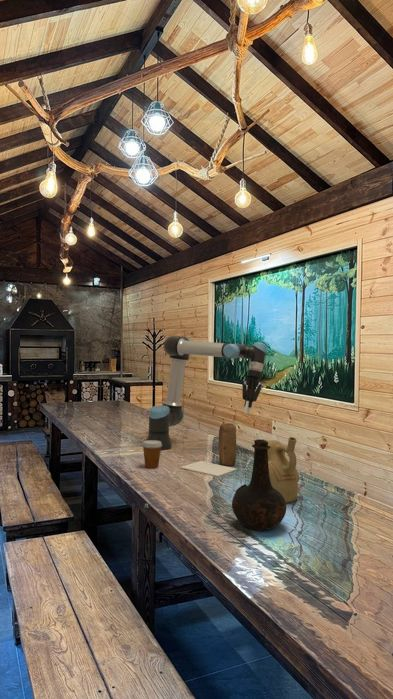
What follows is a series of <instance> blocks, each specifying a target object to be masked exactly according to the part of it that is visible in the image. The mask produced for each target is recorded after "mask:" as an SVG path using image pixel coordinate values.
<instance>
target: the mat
mask: <svg viewBox="0 0 393 699" xmlns="http://www.w3.org/2000/svg"><path fill="white" fill-rule="evenodd" d="M179 468H180V469H181V468H183V469H182V470H185V469H187V470H186V471H189V470H192V471H191V472H194V471H196V472H195V473H198V472H199V474H203V475H208V476H213V477H216V478H220V477H223V476H225V475H228V474H230V473H232V472H233V473H234V472H235V471H238V468H236V467H232V466H224V465H221V464H216V463H212V462H208V461H203V460H202V461H201V460H200V461H196V462H192V463H190V464H186V465H182V466H180V467H179Z"/></svg>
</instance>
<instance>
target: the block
mask: <svg viewBox="0 0 393 699" xmlns="http://www.w3.org/2000/svg"><path fill="white" fill-rule="evenodd" d="M236 427H237V426H236V425H235V424H234V423H231V422H230V423H229V422H228V423H221V424H220V426H219V430H218V459H219V463H220V464H219V465H222V466H227V467H232V466H235V464H236V461H237V460H236V459H237V428H236Z"/></svg>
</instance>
